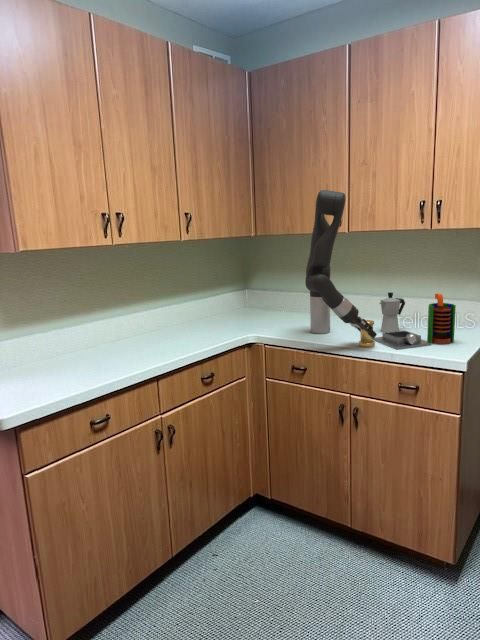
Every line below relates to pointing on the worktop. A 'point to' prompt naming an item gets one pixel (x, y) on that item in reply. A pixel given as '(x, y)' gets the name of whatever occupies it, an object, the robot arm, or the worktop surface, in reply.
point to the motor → (441, 322)
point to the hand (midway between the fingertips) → (369, 334)
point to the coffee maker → (391, 313)
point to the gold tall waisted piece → (367, 337)
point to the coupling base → (402, 340)
